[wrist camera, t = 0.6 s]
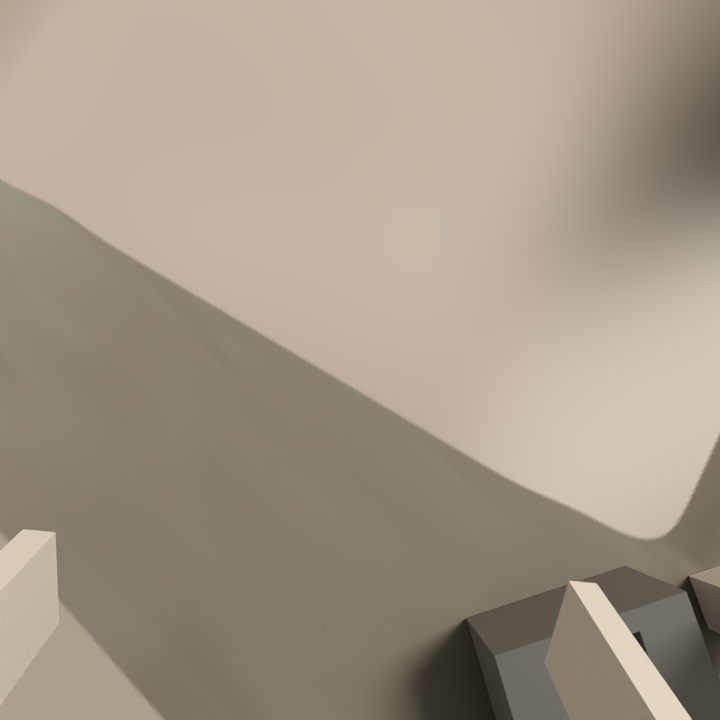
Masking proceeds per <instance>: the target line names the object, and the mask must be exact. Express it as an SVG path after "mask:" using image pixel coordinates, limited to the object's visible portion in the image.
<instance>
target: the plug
mask: <svg viewBox="0 0 720 720" xmlns="http://www.w3.org/2000/svg"><path fill="white" fill-rule="evenodd" d="M689 578H690V580H691V583H692V586H693V589H694V591H695V594H696V597H697V599H698V602H699V605H700V608H701V610H702V613H703V616H704V618H705V621H706V624H707V626H708V629H710V630H712V631H714V632H717V633H719V634H720V566H717V567H714V568H711V569H708V570H705V571H702V572H699V573H696V574H693V575H690V576H689Z"/></svg>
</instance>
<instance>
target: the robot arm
mask: <svg viewBox="0 0 720 720" xmlns="http://www.w3.org/2000/svg"><path fill="white" fill-rule="evenodd" d="M58 624H59V611H58V585H57V561H56V536H55V532H46V531H35V530H25V529H23V530H22V531H21V532H20V533H19V534H18V535H17V536H15V537H14V538H13V539H12V540H11V541H10V542H9V543H8V544H7V545H6V546H5V547H4V548H3V549H2V550H1V551H0V705H1V704H2V702H3V701H4V699H5V698H6V697H7V695H8V694H9V692H10V691H11V690H12V688H13V687H14V685H15V684H16V682H17V681H18V680H19V678H20V677H21V676H22V674H23V673H24V671H25V670H26V668H27V667H28V666H29V664H30V663H31V662H32V660H33V659H34V657H35V656H36V655H37V653H38V652H39V650H40V649H41V648H42V646H43V645H44V643H45V642H46V641H47V639H48V638H49V636H50V635H51V634H52V632H53V631H54V629H55V628H56V627H57V625H58ZM544 664H545V666H546V668H547V670H548V672H549V675H550V677H551V679H552V681H553V684H554V686H555V688H556V690H557V692H558V695H559V697H560V699H561V701H562V703H563V706H564V708H565V710H566V712H567V714H568V717H569V719H570V720H692V719H691V717H690V716H689V715H688V713H687V712H686V710H685V709H684V707H683V706H682V705H681V703H680V702H679V700H678V699H677V697H676V696H675V695H674V693H673V692H672V690H671V689H670V687H669V686H668V685H667V683H666V682H665V680H664V679H663V677H662V676H661V675H660V673H659V672H658V670H657V669H656V667H655V666H654V665H653V663H652V662H651V660H650V659H649V657H648V656H647V655H646V653H645V652H644V650H643V649H642V647H641V646H640V645H639V643H638V642H637V640H636V639H635V637H634V636H633V635H632V633H631V632H630V630H629V629H628V627H627V626H626V625H625V623H624V622H623V620H622V619H621V617H620V616H619V615H618V613H617V612H616V610H615V609H614V607H613V606H612V605H611V603H610V602H609V600H608V599H607V597H606V596H605V595H604V593H603V592H602V590H601V589H600V587H599V586H598V585H597V583H588V582H577V581H569V582H568V585H567V588H566V592H565V595H564V598H563V602H562V605H561V608H560V612H559V615H558V618H557V622H556V625H555V628H554V631H553V635H552V638H551V641H550V645H549V648H548V651H547V655H546V658H545V661H544Z"/></svg>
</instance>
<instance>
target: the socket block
mask: <svg viewBox="0 0 720 720" xmlns="http://www.w3.org/2000/svg"><path fill="white" fill-rule="evenodd" d="M579 582H588V583H597V585H598V586H599V587H600V589H601V590H602V592H603V593H604V595H605V596H606V597H607V599H608V600H609V602H610V603H611V605H612V606H613V607H614V609H615V610H616V612H617V613H618V615H619V616H620V617H621V619H622V620H623V622H624V623H625V625H626V626H627V627H628V629H629V630H630V632H631V633H632V635H633V636H634V637H635V639H636V640H637V642H638V643H639V645H640V646H641V647H642V649H643V650H644V652H645V653H646V655H647V656H648V657H649V659H650V660H651V662H652V663H653V665H654V666H655V667H656V669H657V670H658V672H659V673H660V675H661V676H662V677H663V679H664V680H665V682H666V683H667V685H668V686H669V687H670V689H671V690H672V692H673V693H674V695H675V696H676V697H677V699H678V700H679V702H680V703H681V705H682V706H683V707H684V709H685V710H686V712H687V713H688V715H689V716H690V717H691V719H692V720H720V682H719V679H718V676H717V674H716V671H715V668H714V666H713V663H712V660H711V657H710V655H709V652H708V649H707V646H706V644H705V641H704V638H703V635H702V633H701V630H700V627H699V625H698V622H697V619H696V616H695V614H694V611H693V608H692V605H691V603H690V600H689V597H688V595H687V592H686V591H684V590H682V589H679V588H677V587H675V586H672V585H670V584H667V583H665V582H663V581H660V580H658V579H655V578H653V577H651V576H648V575H646V574H643V573H641V572H639V571H636V570H634V569H631V568H629V567H627V566H624V567H621V568H618V569H615V570H612V571H609V572H606V573H603V574H600V575H597V576H594V577H591V578H588V579H585V580H582V581H579ZM566 588H567V585H566V586H563V587H560V588H557V589H554V590H551V591H548V592H545V593H542V594H539V595H536V596H533V597H530V598H527V599H524V600H520V601H517V602H514V603H511V604H508V605H505V606H502V607H499V608H496V609H493V610H490V611H487V612H484V613H481V614H478V615H475V616H472V617H469V618H466V619H467V623H468V626H469V630H470V633H471V636H472V640H473V643H474V647H475V650H476V653H477V657H478V660H479V663H480V667H481V670H482V674H483V677H484V680H485V684H486V687H487V691H488V694H489V697H490V701H491V704H492V708H493V711H494V714H495V718H496V720H570V719H569V717H568V714H567V712H566V710H565V708H564V706H563V703H562V701H561V699H560V697H559V695H558V692H557V690H556V688H555V686H554V684H553V681H552V679H551V677H550V675H549V672H548V670H547V668H546V666H545V664H544V661H545V658H546V655H547V651H548V648H549V645H550V641H551V638H552V635H553V631H554V628H555V625H556V622H557V618H558V615H559V612H560V608H561V605H562V602H563V598H564V595H565V592H566Z"/></svg>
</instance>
